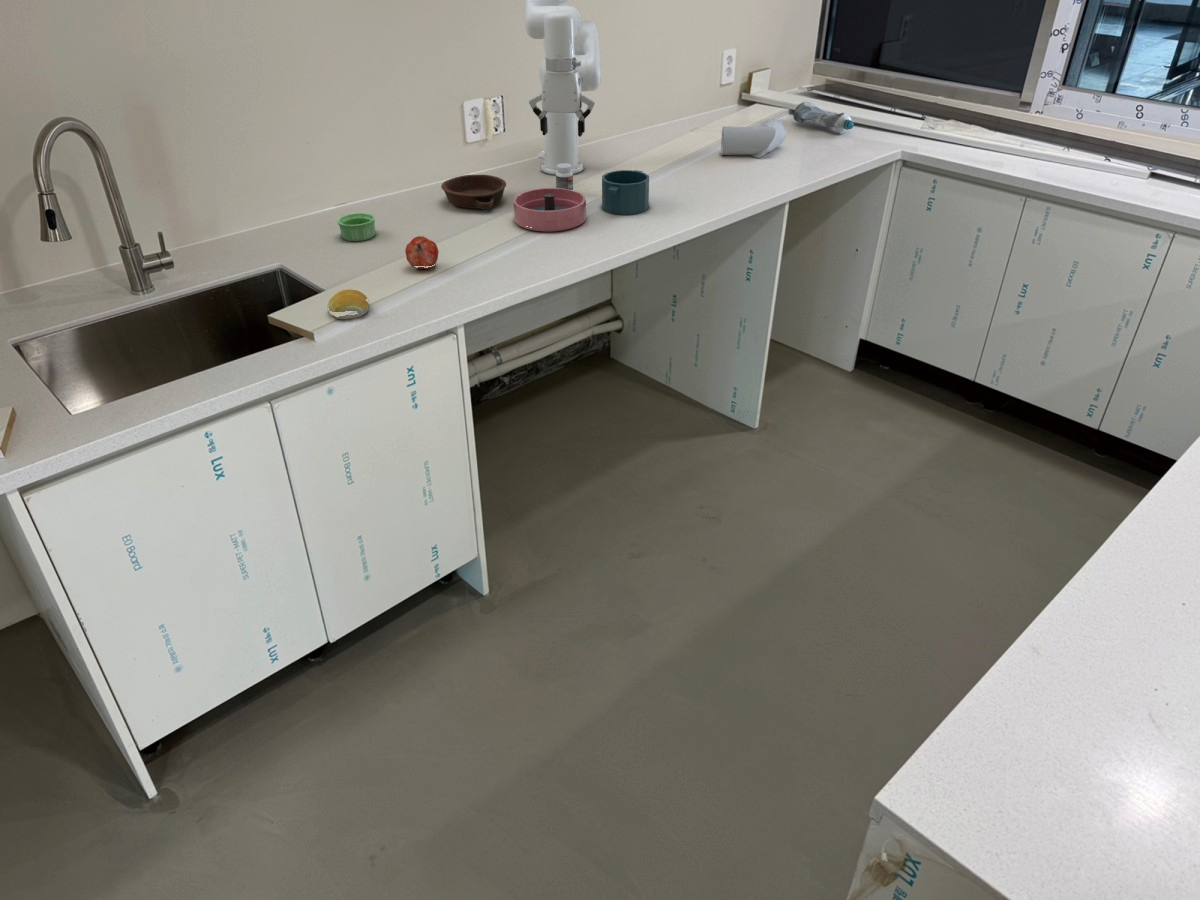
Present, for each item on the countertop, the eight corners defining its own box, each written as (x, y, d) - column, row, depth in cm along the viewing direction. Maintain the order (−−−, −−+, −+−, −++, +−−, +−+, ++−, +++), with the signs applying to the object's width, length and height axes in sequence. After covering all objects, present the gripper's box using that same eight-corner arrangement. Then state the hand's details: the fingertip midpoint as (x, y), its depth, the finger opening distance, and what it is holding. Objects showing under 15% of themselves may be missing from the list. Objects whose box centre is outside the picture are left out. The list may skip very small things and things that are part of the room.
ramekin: (343, 230, 213) (340, 213, 211) (379, 228, 214) (376, 211, 211) (337, 243, 206) (334, 225, 203) (374, 241, 207) (372, 224, 204)
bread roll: (367, 299, 179) (364, 281, 177) (371, 317, 172) (368, 299, 170) (327, 304, 177) (323, 286, 175) (329, 322, 170) (325, 304, 168)
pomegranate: (410, 271, 197) (395, 260, 187) (417, 241, 197) (402, 228, 187) (440, 277, 196) (426, 266, 186) (447, 246, 196) (434, 234, 186)
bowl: (500, 222, 217) (498, 201, 214) (548, 203, 229) (547, 183, 226) (552, 238, 207) (551, 216, 204) (600, 218, 219) (600, 197, 216)
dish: (454, 219, 219) (452, 200, 217) (434, 194, 236) (432, 176, 233) (518, 209, 225) (517, 191, 222) (494, 186, 242) (492, 168, 239)
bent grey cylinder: (765, 160, 255) (791, 145, 269) (762, 124, 250) (788, 110, 264) (713, 165, 265) (740, 150, 279) (709, 130, 260) (736, 116, 274)
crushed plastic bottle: (785, 122, 297) (832, 137, 278) (789, 101, 293) (837, 114, 275) (815, 121, 302) (862, 136, 284) (818, 100, 299) (867, 113, 280)
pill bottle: (571, 199, 232) (570, 168, 227) (554, 198, 233) (553, 167, 228) (575, 193, 236) (574, 163, 231) (558, 192, 236) (557, 162, 232)
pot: (590, 214, 221) (589, 184, 217) (617, 194, 235) (617, 165, 230) (633, 220, 217) (634, 190, 213) (658, 200, 230) (659, 170, 226)
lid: (515, 223, 215) (513, 199, 212) (539, 207, 225) (538, 184, 222) (561, 230, 210) (560, 206, 207) (584, 213, 220) (584, 190, 217)
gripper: (596, 63, 216) (597, 132, 226) (530, 61, 219) (534, 130, 228) (591, 68, 210) (592, 139, 220) (523, 67, 213) (527, 137, 222)
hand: (562, 134), depth 224 cm, fingers open, 9 cm apart
